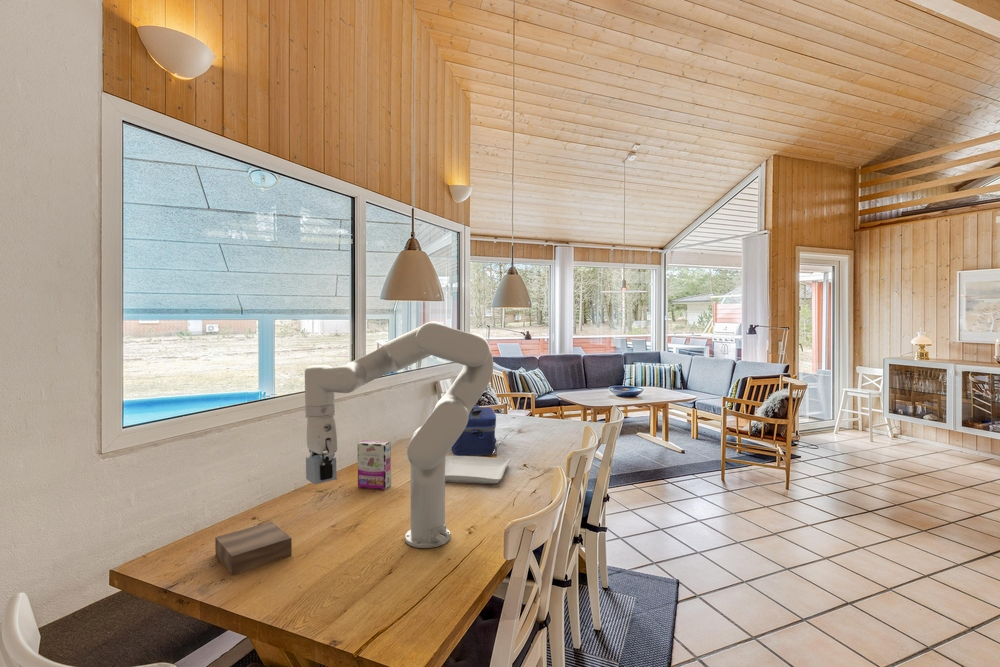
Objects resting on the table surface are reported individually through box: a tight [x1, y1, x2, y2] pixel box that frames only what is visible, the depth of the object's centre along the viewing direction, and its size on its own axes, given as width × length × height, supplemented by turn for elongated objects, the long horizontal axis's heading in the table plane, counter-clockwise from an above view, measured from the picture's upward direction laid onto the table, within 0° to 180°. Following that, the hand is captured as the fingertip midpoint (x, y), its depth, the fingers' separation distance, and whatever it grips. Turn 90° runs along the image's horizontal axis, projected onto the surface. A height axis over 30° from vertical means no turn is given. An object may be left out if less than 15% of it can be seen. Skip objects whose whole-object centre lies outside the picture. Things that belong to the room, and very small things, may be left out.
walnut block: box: [214, 521, 293, 576], centre depth 126 cm, size 14×14×5 cm
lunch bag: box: [451, 405, 497, 456], centre depth 231 cm, size 31×21×20 cm
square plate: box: [445, 455, 511, 485], centre depth 193 cm, size 27×27×4 cm
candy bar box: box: [357, 440, 392, 491], centre depth 178 cm, size 11×5×16 cm, turn 76°
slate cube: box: [305, 455, 338, 485], centre depth 133 cm, size 6×6×6 cm
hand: (321, 475), depth 134 cm, fingers closed on slate cube, 6 cm apart
